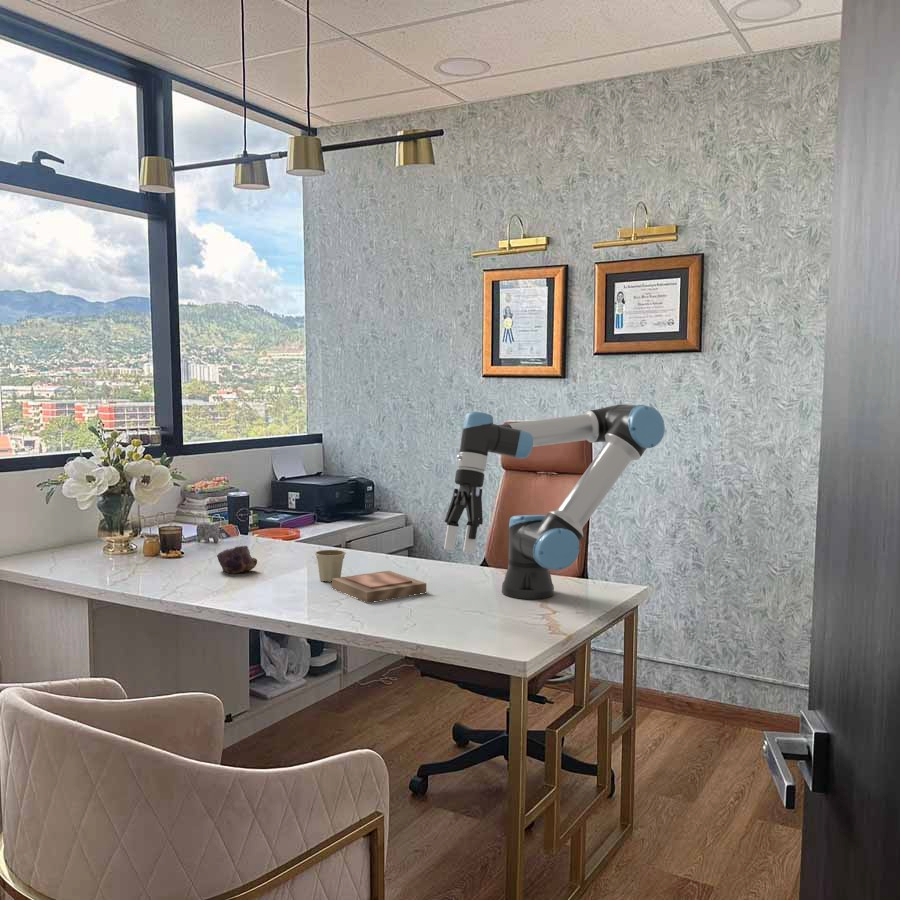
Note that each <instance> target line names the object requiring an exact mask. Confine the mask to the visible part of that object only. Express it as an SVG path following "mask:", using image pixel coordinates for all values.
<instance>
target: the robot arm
mask: <svg viewBox="0 0 900 900" xmlns="http://www.w3.org/2000/svg"><path fill="white" fill-rule="evenodd" d="M665 428H666V427H665V421H664V418H663V416H662V414H661V413H660V412H659V410H657V409H656V408H654V407H652V406H648V405H645V404H638V405H634V404H615V405H610V406H606V407H602V408H596V409H589V410H586V411H585V412H584V413H583V414H577V415H569V416H561V417H552V418H546V419H537V420H529V421H520V422H514V423H513V422H512V423H505V424H496V423H494V417H493V415H491V414H490V413H489V414H488V413H486V412H482V411H481V412H480V411H470V412H468V413H466V414H465V418H464V421H463V425H462V432H461V438H460V447H459V453H458V455H457V456H456V458H457V459H458V460H457V468H458V469H456V470H455V471H456V472H455V478H454V483H455V484H456V485H459V488H454V489H453V493H452V498H451V500H450V503H449V507H448V510H447V513H446V515H445V519H444V522H445V523H446V525H447V526H446V534H445V540H444V546H443V550H447V551H454V552H455V548H456V541H457V537H458V536H457V533H458V528H459V527H460V524H459V521H460V518H461V516H462V515H463V512H464V510H465V509H466V510H465V511H466V516H467V522H466V524H465V525H466V529H465V535H464V536H465V537H464V544H463V548H462V551H463V553H464V552H466V553H471V554H474V553H475V548H476V543H477V542H476V541H477V535H478V528H479V527H480V525H481V526H482V525H483V522H484V521H483V520H484V519H483V501H482V500H483V499H482V496H483V489H482V487H483V486H484V481H485V473H484V472H486V471H487V470H486V469H487V464H488V456H489V454H488V453H491V454H492V453H493V454H497V455H502V456H507V457H512V458H514V459H522V460H523V459H527V458H528V457H529V456H530V454H531V453H532V450H533V448H534V447H541V446H544V447H545V446H550V445H557V444H558V445H559V444H567V443H573V442H580V441H581V442H582V441H583V442H584V441H587V442H589V443H591V444H592V443H605V444H603V446H602V448H601V449H600V450H599V452H598V453H597V455H596V456H595V458H593V460H592V462H590V464H589V466H588V467H587V469H585V472H584V473H583V474H582V475H581V477H580V478H579V479H578V481H577V482H575V483H576V484H575V485H574V486H573V488H571V491H570V492H568V494H567V496H566V497H565V498H564V500H563V502H562V503H561V504H560V505H559V507H558V508H557V509H556V510H551V511H550V510H549V511H548V513H547V514H525V515H523V514H521V515H513V516H511V517H510V518H509V525H508V566H507V570H506V573H505V576H504V580H503V582H502V585H501V593H502V594H503V595H504V596H506V597H510V598H515V599H524V600H540V599H548V598H551V597H553V596H554V595H555V594H554V593H555V586H554V583H553V582H552V581H553V580H552V576H551V575H552V574H551V572H550V570H552V571H560V570H561V571H562V570H565V569H566V568H569V567H570V566H572V565H574V563H575V562H576V560H577V559H578V557H579V553H580V550H581V549H580V547H581V546H580V542H581V541H582V539H583V538H584V532H583V528H584V527H585V525H586V524H587V522H588V521H589V520H590V519H591V517H592V516H593V514H594V513H595V512H596V510H597V509H598V507H599V506H600V505H601V503H602V502H603V501H604V499H605V498H606V497H607V495H608V493H609V492H610V490H611V489H612V488H613V486H615V484H616V483H617V481H618V479H619V478H620V476H621V475H622V474H623V473H624V471H625V470H626V469H627V468H628V466H629V464H630V463H631V462H632V461H637V460H640V459H641V457H642V456H643V454H644V453H645V452H646V450H647V449H652V448H654V447H656V446H658V445H659V444H660V442H662V440H663V438H664V436H665V430H666V429H665Z"/></svg>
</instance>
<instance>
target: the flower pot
mask: <svg viewBox="0 0 900 900" xmlns="http://www.w3.org/2000/svg"><path fill="white" fill-rule="evenodd" d="M346 553H347V552H346V551H345V550H341V549H339V550H338V549H322V550H318V551H315V552H314V555H315V556H316V557H315V558H316V560H317V567H318V573H319V580H321V581H320V582H323V581H325V582H327V583H332V582H331V581H332V579H333V578H340V577H341V576H342V570H343V563H344V559H345V555H346Z"/></svg>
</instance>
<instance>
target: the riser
mask: <svg viewBox="0 0 900 900" xmlns="http://www.w3.org/2000/svg"><path fill="white" fill-rule="evenodd" d="M332 588H333V589H332ZM331 589H332V590H334V589H336V590H338V591H341V592H343V593H346V594H348V595H350V596H349V597H351V596H353V597H356V598H358V599H360V600H362V601H361V602H363V601H365V602H371V603H375V602H374V601H378V602H381V601H380V600H384V601H387V600H386V599H390V600H393V599H392V598H396V599H399V598H398V597H402V598H405V597H404V596H408V597H410V596H409V595H414V594H420V593H425V592H426V593H427V582H424V581H421V580H418V579H415V578H412V577H410V576H406V575H404V574H400V573H397V572H395V571H391V570H383V571H378V572H377V571H376V572H370V573H363V574H355V575H349V576H342V577H340V578H333V579H332V582H331ZM336 590H335V591H336ZM338 591H337V592H338ZM341 592H340V593H341ZM343 593H342V594H343ZM346 594H345V595H346ZM348 595H347V596H348ZM420 595H421V594H420ZM414 596H415V595H414ZM353 597H352V598H353ZM358 599H357V600H358ZM360 600H359V601H360ZM365 602H364V603H365Z"/></svg>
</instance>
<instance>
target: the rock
mask: <svg viewBox="0 0 900 900" xmlns="http://www.w3.org/2000/svg"><path fill="white" fill-rule="evenodd" d="M216 558H217V561H218V563H219V564H220V565H219V566H221V568H222V571H224V572H226V573H227V574H232V575H234V574H238V573H241V572H242V573H243V572H244V573H245V572H251V570H253V569H254V568H256V566H257V564H258V559H257V558H255V557H252V556H251V553H250V549H249V547H248V546H247V545H239V546H238V545H237V546H234V547H233V548H227V549H225V550H223V551H220V552H219V553H218V554H217V555H216Z"/></svg>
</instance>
